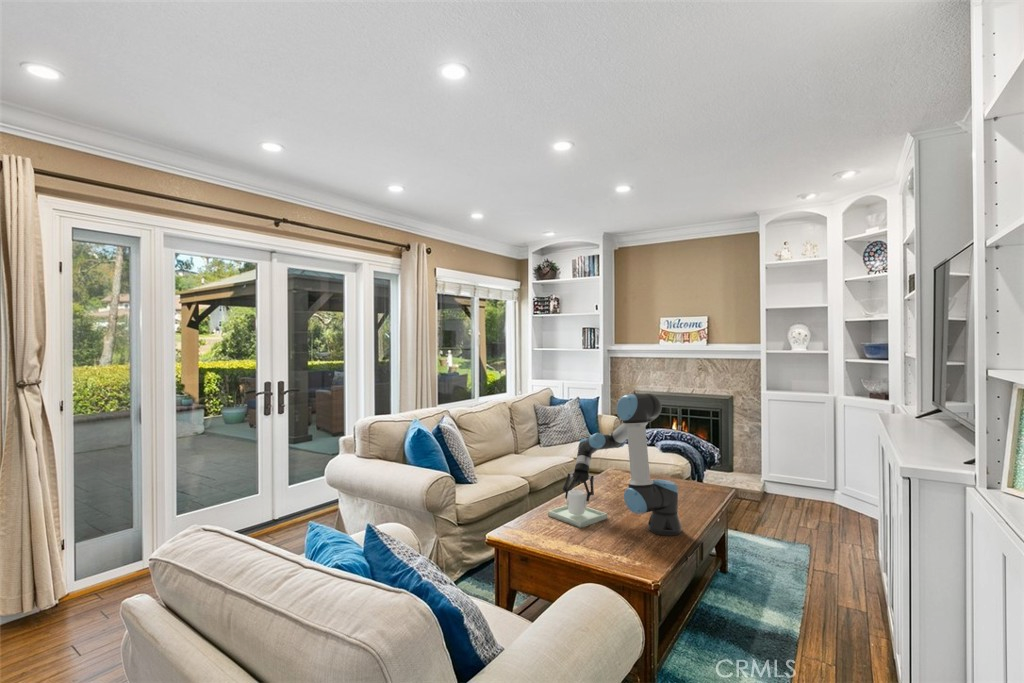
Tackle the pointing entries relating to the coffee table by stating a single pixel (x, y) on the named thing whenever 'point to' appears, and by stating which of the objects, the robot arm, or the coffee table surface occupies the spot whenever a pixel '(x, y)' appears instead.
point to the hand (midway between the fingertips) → (575, 505)
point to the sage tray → (577, 516)
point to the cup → (576, 502)
